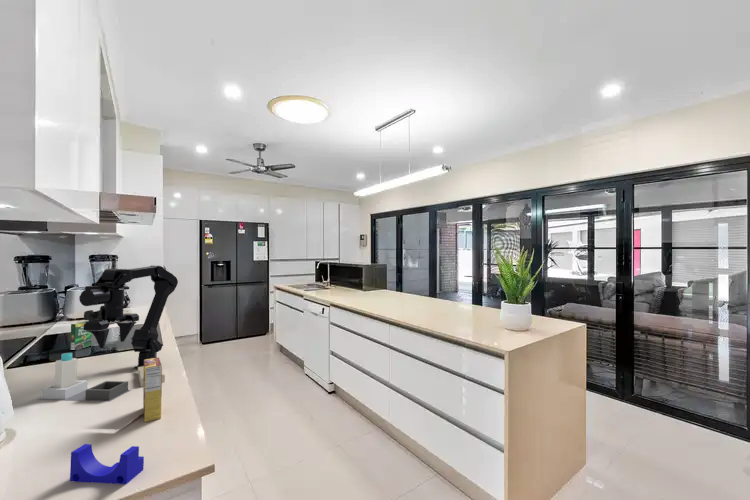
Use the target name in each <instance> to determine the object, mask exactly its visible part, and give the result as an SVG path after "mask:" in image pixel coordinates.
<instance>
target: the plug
mask: <svg viewBox="0 0 750 500" xmlns="http://www.w3.org/2000/svg"><path fill="white" fill-rule="evenodd" d="M78 359H79V358H75V357H73V352H64V353H61V359H57V360H55V365H54V366H55V369H54V384H55V387H54V388H63V389H66V388H68V387H71V386H73V385H76V384H77V380H78V365H79V364H78V363H79V362H78V361H79V360H78Z"/></svg>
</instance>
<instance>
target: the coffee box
mask: <svg viewBox="0 0 750 500" xmlns="http://www.w3.org/2000/svg"><path fill="white" fill-rule="evenodd" d="M86 322H88V320H85V321H81V322H76V323H70V349H69V350H70V351H71V350H77V349H81V348H85V347H88V346H92V344H93V341H92V338H93V334H92V333H91V332H87V330H83V328H84V324H85V323H86ZM85 349H86V348H85ZM81 350H82V349H81ZM77 351H78V350H77Z"/></svg>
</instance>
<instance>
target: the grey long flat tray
mask: <svg viewBox="0 0 750 500" xmlns="http://www.w3.org/2000/svg"><path fill="white" fill-rule="evenodd" d="M54 387H55V383H54V384H52V385H49V386H46V387H43V388H42V389H41V397H40V398H38V399H36V401H72V402H73V401H74V402H75V401H76V402H106V403H107V402H111V401H113V400H115V399H117V398H119V397H122V396H123V395H124V394H126V393H129V392H131V391H132V389H129V381H127V380H126V381H124V380H123V381H121V380H119V381H117V380H105V381H103V382H101V383H99V384H96V385H94V386H92V387H89V388H88V380H83V379H82V380H79V379H77V384H76V385H73V386H71V387H68V388H66V389H63V388H54Z"/></svg>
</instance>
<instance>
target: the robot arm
mask: <svg viewBox="0 0 750 500" xmlns="http://www.w3.org/2000/svg"><path fill="white" fill-rule="evenodd" d="M146 277H150V280H151V281H152V282H153V289H154V296H153V299H152V302H151V304H150V307H149V310H148V312H147V314H146V317H145V320H144V323H143V325H142V327H140V328H137V329H135V330H134V332H133V335H132V337H131V338H130V339H131V345H132V348H133V351H134V352H135V353H138V358H137V359H138V361H137V365H135V366H134V369H138V367H142V366H144V360H146V359H152V358H158V357H157V353H158V352H160V351H162V349H163V348H162V347H163V343H161V342H160V341H159V340H158V339H159V333H158V325H159V323H160V320H161V317H162V315H163V311H164V308H165V307H166V304H167V301H168V298H169V296H170V295H171V294H173V292H175V290H176V288H177V287H178V283H179V280H178V278H177V277H176V276H175V275H174V274H173V273H172V272H170V271H168V270H166V269H165V268H164V267H163V266H161V265H149V266H144V267H143V266H142V267H136V268H129V269H127V268H106V269H104V270H103V272H102V274H101V276H100V277H99V278H98V279H97V280H96V281H95V284H94V285H87V286H85V287H84V288H85V289H84V290H83V291H81V293H80V295H79V302H80V304H81V305H82V306H83V307H91V306H97V305H101V306H100V307H99V310H96V311H95V310H92V309H89V310H85V311H84V313H83V319H84V320H85V321H88V322H86V323H85V324H84V328H83V330H87V332H91V333H92V336H94V338H95V340H96V343H97V345H98V347H99V349H103V348H105V345H106V342H107V339H108V335H109V332H110V328H109V327H110V325H115V324H117V327H119V339H120V342H121V343H122V342H125V340H126V339H127V337H128V335H129V333H130V332H131V330H132V329H133V327H134V326H135V325H136V324H137V322H139V321H140V315H139V314H138V313H131V312H130V313H127V312H125V313H124V309H125V308H127V304H124V303H125V291H126V290H129V289H130V287H129V286H128V285H127V283H130V282H131V281H132V280H135V279H139V278H146Z"/></svg>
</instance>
